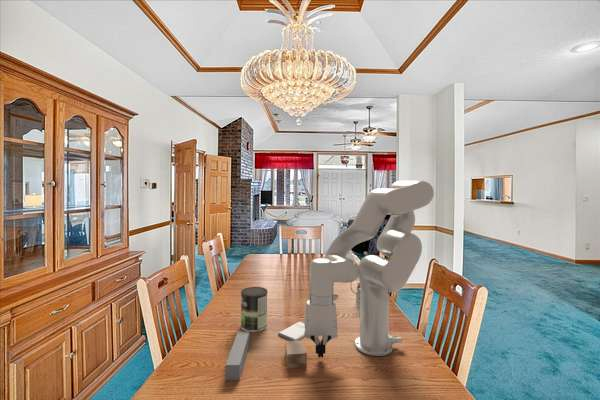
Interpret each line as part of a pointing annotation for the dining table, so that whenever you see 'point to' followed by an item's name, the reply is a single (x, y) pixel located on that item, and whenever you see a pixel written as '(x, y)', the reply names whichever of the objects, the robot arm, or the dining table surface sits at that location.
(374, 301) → the robot arm
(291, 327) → the external hard drive
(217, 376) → the dining table surface
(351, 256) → the honey pot
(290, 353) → the walnut block
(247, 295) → the coffee can
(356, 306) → the french press
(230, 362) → the board
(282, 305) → the dining table surface
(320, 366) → the dining table surface
